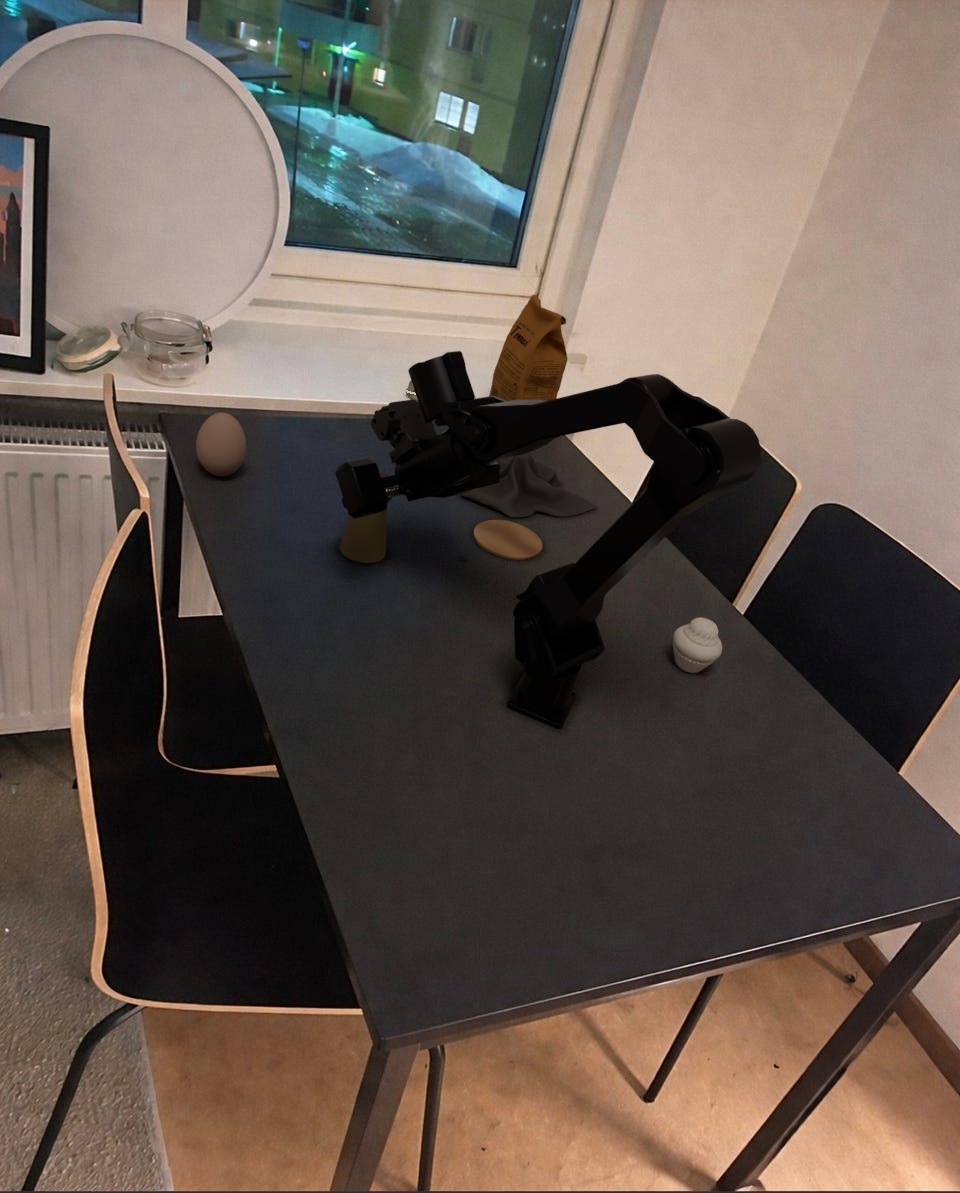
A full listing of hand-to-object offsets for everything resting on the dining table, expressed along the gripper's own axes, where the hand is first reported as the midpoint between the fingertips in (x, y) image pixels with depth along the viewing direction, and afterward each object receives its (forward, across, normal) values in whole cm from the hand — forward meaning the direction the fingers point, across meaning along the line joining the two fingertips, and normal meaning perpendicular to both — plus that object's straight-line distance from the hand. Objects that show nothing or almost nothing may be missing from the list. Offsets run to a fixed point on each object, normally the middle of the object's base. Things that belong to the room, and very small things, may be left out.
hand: (373, 497), depth 114 cm
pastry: (+34, -42, -21) cm, 58 cm away
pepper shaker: (+6, 0, +6) cm, 8 cm away
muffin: (-21, -23, +32) cm, 45 cm away
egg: (+23, +7, -11) cm, 27 cm away
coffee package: (+23, -52, -11) cm, 58 cm away
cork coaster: (+2, -21, +10) cm, 23 cm away
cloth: (+9, -34, +3) cm, 36 cm away
